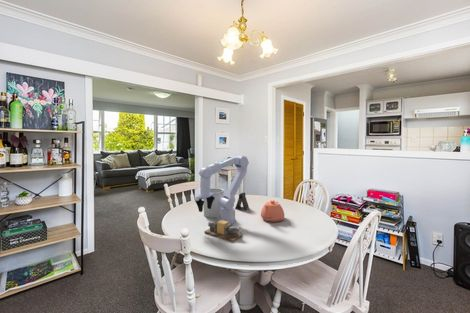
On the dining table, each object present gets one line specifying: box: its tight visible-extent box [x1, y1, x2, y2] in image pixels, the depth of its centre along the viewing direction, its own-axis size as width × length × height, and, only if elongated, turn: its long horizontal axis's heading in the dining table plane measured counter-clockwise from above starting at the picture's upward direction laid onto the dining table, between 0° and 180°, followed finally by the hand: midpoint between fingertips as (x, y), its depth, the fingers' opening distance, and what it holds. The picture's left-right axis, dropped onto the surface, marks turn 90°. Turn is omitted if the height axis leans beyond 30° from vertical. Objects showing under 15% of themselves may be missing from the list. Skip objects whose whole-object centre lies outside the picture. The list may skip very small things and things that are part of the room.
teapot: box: [260, 199, 285, 223], centre depth 153 cm, size 22×16×12 cm
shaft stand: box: [203, 220, 244, 243], centre depth 128 cm, size 20×9×6 cm, turn 55°
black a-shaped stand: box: [234, 192, 250, 211], centre depth 176 cm, size 9×6×12 cm, turn 64°
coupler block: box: [216, 219, 228, 235], centre depth 129 cm, size 5×4×6 cm
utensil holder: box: [202, 187, 225, 218], centre depth 162 cm, size 15×15×18 cm
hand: (204, 210), depth 139 cm, fingers open, 7 cm apart
